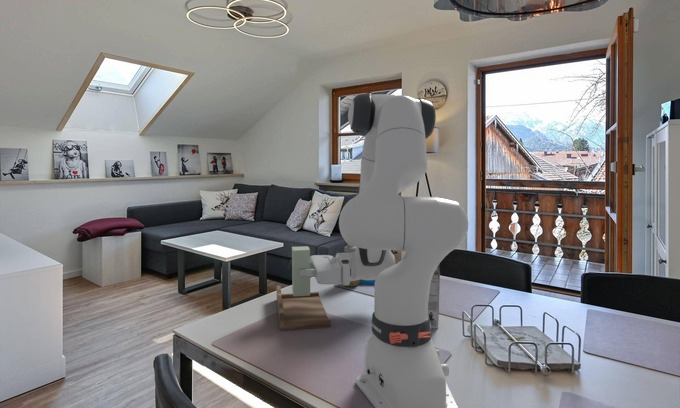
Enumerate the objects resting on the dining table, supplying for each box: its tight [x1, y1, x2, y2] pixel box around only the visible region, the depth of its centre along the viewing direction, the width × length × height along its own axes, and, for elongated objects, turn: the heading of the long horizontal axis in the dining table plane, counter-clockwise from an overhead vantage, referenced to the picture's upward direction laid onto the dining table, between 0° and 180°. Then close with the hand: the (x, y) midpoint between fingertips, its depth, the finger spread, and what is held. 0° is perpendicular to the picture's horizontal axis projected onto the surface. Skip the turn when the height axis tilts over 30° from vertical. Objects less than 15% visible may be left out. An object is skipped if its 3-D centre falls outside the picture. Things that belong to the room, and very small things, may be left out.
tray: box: [276, 284, 331, 332], centre depth 123 cm, size 25×14×5 cm, turn 11°
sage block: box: [291, 245, 311, 296], centre depth 122 cm, size 5×5×14 cm
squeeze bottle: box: [342, 244, 361, 288], centre depth 149 cm, size 8×8×18 cm
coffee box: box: [428, 264, 441, 329], centre depth 115 cm, size 9×6×16 cm
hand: (298, 269), depth 122 cm, fingers closed on sage block, 5 cm apart
